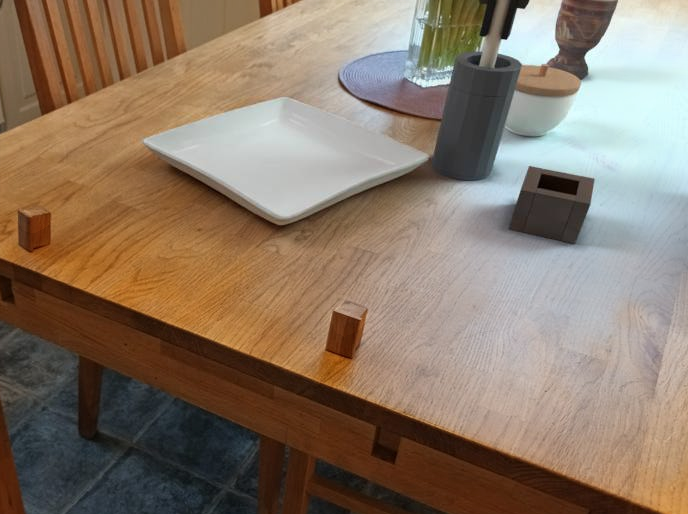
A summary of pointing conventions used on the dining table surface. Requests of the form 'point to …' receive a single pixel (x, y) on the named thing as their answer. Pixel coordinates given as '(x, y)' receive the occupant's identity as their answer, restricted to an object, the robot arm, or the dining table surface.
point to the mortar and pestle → (580, 32)
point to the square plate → (284, 157)
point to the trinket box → (541, 100)
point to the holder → (552, 204)
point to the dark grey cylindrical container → (474, 116)
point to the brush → (494, 34)
